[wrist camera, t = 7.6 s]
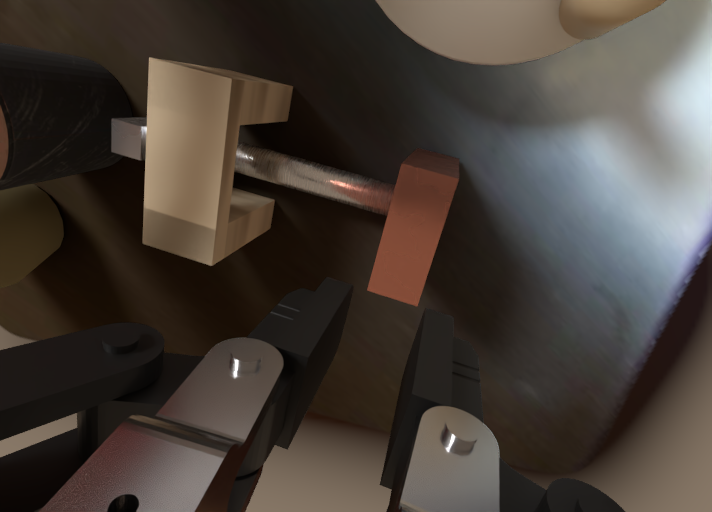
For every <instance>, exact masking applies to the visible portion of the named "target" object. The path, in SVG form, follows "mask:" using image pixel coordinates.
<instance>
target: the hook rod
mask: <svg viewBox="0 0 712 512" xmlns="http://www.w3.org/2000/svg"><path fill="white" fill-rule="evenodd" d="M146 132H147V117H137V118H112V142H111V152H114V153H117V154H120V155H124V156H127V157H130V158H134V159H137V160H146ZM234 172H237V173H241V174H244V175H247V176H251V177H254V178H258V179H261V180H265V181H268V182H271V183H275V184H278V185H282V186H285V187H289V188H292V189H295V190H299V191H302V192H306V193H309V194H313V195H316V196H319V197H323V198H326V199H330V200H333V201H337V202H340V203H343V204H347V205H350V206H354V207H357V208H361V209H364V210H367V211H371V212H374V213H378V214H381V215H385V216H387V219H386V223H385V227H384V230H383V234H382V238H381V241H380V245H379V249H378V253H377V256H376V260H375V264H374V267H373V271H372V275H371V278H370V282H369V286H368V289H367V291H370V292H374V293H377V294H380V295H383V296H386V297H389V298H393V299H396V300H399V301H402V302H405V303H408V304H411V305H415V306H418V303H419V300H420V296H421V293H422V290H423V287H424V284H425V281H426V278H427V275H428V272H429V269H430V266H431V263H432V260H433V257H434V254H435V251H436V248H437V245H438V242H439V239H440V236H441V233H442V229H443V226H444V223H445V220H446V217H447V214H448V211H449V208H450V205H451V202H452V199H453V196H454V193H455V190H456V187H457V184H458V181H459V159H458V158H454V157H451V156H447V155H443V154H439V153H436V152H432V151H428V150H424V149H421V148H417V149H416V150H415V151H414V152H413V153H412V154H411V155H410V156H409V157H408V158H407V159H406V160H405V161H404V162H403V163H402V164H401V168H400V171H399V175H398V179H397V182H396V185H394V184H390V183H386V182H383V181H379V180H376V179H372V178H369V177H365V176H362V175H358V174H354V173H351V172H347V171H344V170H340V169H337V168H333V167H329V166H326V165H322V164H319V163H315V162H312V161H308V160H305V159H301V158H297V157H294V156H290V155H287V154H283V153H280V152H276V151H272V150H269V149H265V148H262V147H258V146H255V145H251V144H248V143H244V142H240V141H238V144H237V153H236V161H235V170H234Z"/></svg>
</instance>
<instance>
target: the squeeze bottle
mask: <svg viewBox="0 0 712 512" xmlns="http://www.w3.org/2000/svg"><path fill="white" fill-rule="evenodd" d="M63 237H64V230H63V221H62V218H61V216H60V213H59V211H58V208H57V206H56V205H55V204H54V202H53V201H52V200H51V198H50V197H49V196H48V195H47V193H45V192H44V191H42V190H41V189H40V188H38V187H37V186H36V185H34V184H28V185H23V186H19V187H14V188H9V189H5V190H0V288H3V287H6V286H9V285H13V284H16V283H18V282H19V281H20V280H22V279H23V278H24V277H25V276H26V275H28V274H29V273H30V272H31V271H32V270H34V269H35V268H36V267H37V266H38V265H39V264H41V263H42V262H43V261H44V260H45V259H47V258H48V257H49V256H50V255H51V254H52V253H54V252H55V251H56V250H57V249H58V248H59V247H60V246H61V243H62V240H63Z"/></svg>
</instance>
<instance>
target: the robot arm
mask: <svg viewBox="0 0 712 512" xmlns="http://www.w3.org/2000/svg"><path fill="white" fill-rule="evenodd" d="M352 293H353V285H352V284H348V283H345V282H342V281H339V280H336V279H333V278H329V277H326V278H325V279H324V281H323V282H322V283H321V285H320V286H319V287H318V288H317V290H316V291H315V292H313V291H310V290H307V289H304V288H301V289H298V290H296V291H293V292H290V293H288V294H287V295H286V296H285V297H284V298H283V299H282V300H281V301H280V302H279V304H278V305H276V306H275V307H274V309H273V310H272V311H271V313H269V314H268V315H267V316H266V317H265V318H264V319H263V320H262V321H261V322H260V324H259V325H258V326H257V327H256V328H255V329H254V330H253V331H252V332H251V333H250V334H249V335H248V336H247V337H246V338H234V339H229V340H226V341H223V342H221V343H219V344H217V345H216V346H214V347H213V348H212V349H211V350H210V351H209V353H208V354H207V355H206V356H190V355H181V354H173V353H164V339H163V336H162V335H161V334H160V333H159V332H158V331H157V330H155V329H154V328H152V327H149V326H147V325H143V324H138V323H113V324H108V325H104V326H99V327H95V328H91V329H87V330H83V331H79V332H74V333H70V334H66V335H62V336H58V337H54V338H49V339H45V340H41V341H37V342H33V343H29V344H24V345H20V346H16V347H12V348H8V349H4V350H0V441H1V440H3V439H6V438H9V437H11V436H14V435H17V434H20V433H23V432H25V431H28V430H31V429H33V428H36V427H39V426H42V425H45V424H47V423H50V422H53V421H55V420H58V419H61V418H64V417H66V416H69V415H72V414H75V413H77V428H75V429H73V430H70V431H68V432H65V433H63V434H60V435H57V436H55V437H52V438H50V439H47V440H44V441H42V442H39V443H37V444H34V445H31V446H29V447H27V448H24V449H21V450H19V451H16V452H14V453H11V454H8V455H6V456H3V457H0V512H245V511H246V509H247V506H248V504H249V502H250V499H251V497H252V495H253V492H254V490H255V488H256V485H257V483H258V480H259V478H260V476H261V473H262V469H263V464H264V462H265V461H266V459H267V458H268V456H269V454H270V452H271V450H272V449H273V447H274V445H277V446H280V447H282V448H285V449H288V447H289V445H290V444H291V442H292V440H293V437H294V435H295V434H296V432H297V430H298V428H299V425H300V424H301V421H302V420H303V418H304V415H305V414H306V412H307V410H308V408H309V406H310V404H311V402H312V400H313V398H314V396H315V394H316V392H317V390H318V388H319V386H320V384H321V382H322V380H323V378H324V376H325V374H326V372H327V370H328V368H329V366H330V364H331V362H332V360H333V358H334V356H335V354H336V351H337V348H338V345H339V342H340V339H341V336H342V332H343V328H344V324H345V320H346V316H347V312H348V308H349V305H350V301H351V297H352ZM453 322H454V318H453V317H452V316H449V315H446V314H443V313H439V312H436V311H433V310H430V309H427V308H425V310H424V313H423V316H422V319H421V322H420V325H419V327H418V330H417V333H416V336H415V339H414V342H413V345H412V348H411V351H410V354H409V357H408V360H407V364H406V367H405V370H404V374H403V378H402V382H401V387H400V392H399V396H398V401H397V406H396V411H395V415H394V420H393V425H392V430H391V434H390V439H389V444H388V449H387V453H386V459H385V463H384V468H383V473H382V477H381V482H380V485H382V486H384V487H387V488H389V489H392V491H391V496H390V502H389V506H388V509H387V511H386V512H625V511H624V510H623V509H622V508H621V507H620V506H619V505H618V504H617V503H616V502H615V501H614V500H612V499H611V498H610V497H609V496H607V495H606V494H604V493H603V492H601V491H600V490H598V489H597V488H595V487H593V486H591V485H589V484H587V483H584V482H582V481H579V480H575V479H569V478H562V479H557V480H555V481H553V482H552V483H551V484H550V485H549V487H548V489H547V490H545V489H544V488H542V487H540V486H539V485H537V484H536V483H534V482H532V481H531V480H529V479H527V478H526V477H524V476H523V475H521V474H519V473H518V472H517V471H515V470H514V469H512V468H511V467H510V466H508V465H507V464H506V463H505V462H504V461H503V460H502V459H501V458H500V457H499V447H498V444H497V441H496V439H495V437H494V435H493V434H492V433H491V431H490V430H489V429H488V428H487V427H486V425H484V424H483V412H482V399H481V386H480V384H479V383H480V373H479V361H478V355H477V354H476V352H475V351H474V349H473V347H472V346H471V344H470V343H469V342H468V341H465V340H461V339H458V338H455V337H453Z"/></svg>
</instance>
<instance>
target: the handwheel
mask: <svg viewBox="0 0 712 512" xmlns="http://www.w3.org/2000/svg"><path fill="white" fill-rule="evenodd" d="M375 1H376V2H377V3H378V5H379V6H380V7H381V9H382V10H383V11H384V13H385V14H386V15H387V16H388V18H389V19H390V20H391V21H392V22H393V23H394V24H395V25H396V26H397V27H398V28H399V29H400V30H401V31H402V32H403V33H404V34H406V35H407V36H408V37H410V38H411V39H412V40H413V41H415V42H416V43H417V44H419V45H421V46H422V47H424V48H426V49H428V50H430V51H432V52H433V53H435V54H438V55H440V56H443V57H446V58H449V59H451V60H454V61H459V62H464V63H468V64H473V65H488V66H499V65H512V64H519V63H524V62H528V61H533V60H538V59H540V58H543V57H546V56H549V55H552V54H555V53H558V52H560V51H562V50H564V49H566V48H569V47H571V46H573V45H575V44H577V43H579V42H581V41H583V40H589V39H594V38H597V37H599V36H601V35H603V34H605V33H607V32H609V31H611V30H613V29H615V28H617V27H619V26H621V25H623V24H625V23H627V22H629V21H631V20H633V19H635V18H637V17H639V16H641V15H643V14H645V13H647V12H649V11H651V10H653V9H655V8H656V7H658V6H660V5H661V4H662V3H664V2H665V1H666V0H375Z"/></svg>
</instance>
